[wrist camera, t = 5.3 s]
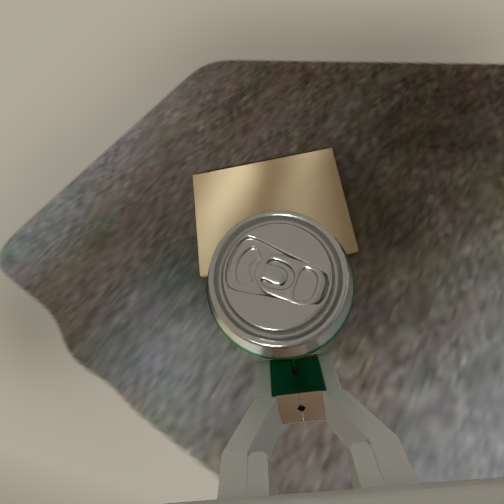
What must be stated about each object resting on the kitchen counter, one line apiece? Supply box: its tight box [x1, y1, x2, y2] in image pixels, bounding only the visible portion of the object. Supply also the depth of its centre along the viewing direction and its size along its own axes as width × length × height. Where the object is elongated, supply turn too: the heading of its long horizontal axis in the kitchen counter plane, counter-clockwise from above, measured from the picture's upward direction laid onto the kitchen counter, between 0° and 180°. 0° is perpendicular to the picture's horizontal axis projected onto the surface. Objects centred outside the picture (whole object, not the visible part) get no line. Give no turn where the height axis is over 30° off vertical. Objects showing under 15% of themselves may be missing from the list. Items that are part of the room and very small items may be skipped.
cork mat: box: [193, 148, 359, 277], centre depth 21 cm, size 12×9×1 cm
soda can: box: [207, 210, 355, 360], centre depth 14 cm, size 5×5×12 cm
